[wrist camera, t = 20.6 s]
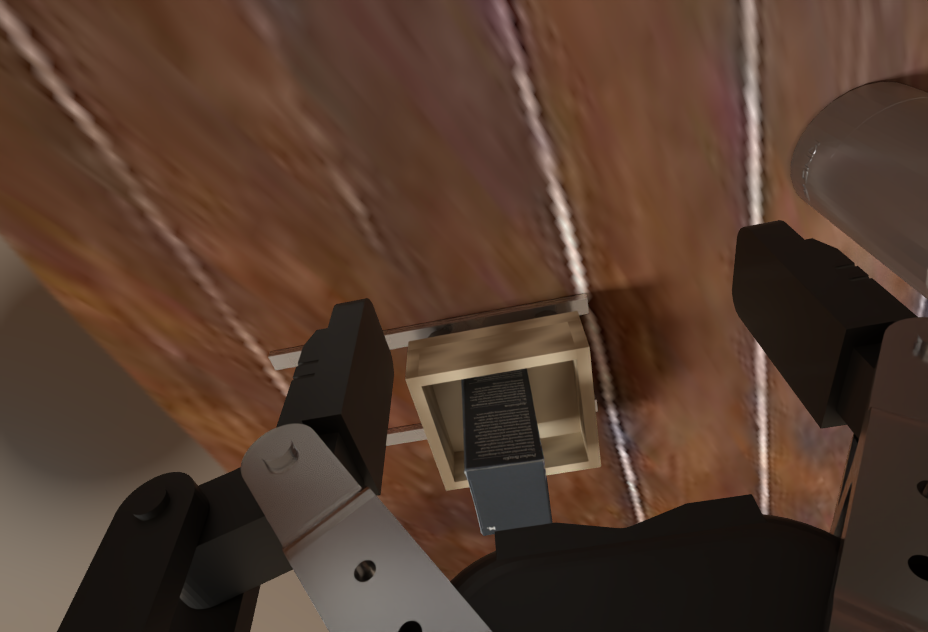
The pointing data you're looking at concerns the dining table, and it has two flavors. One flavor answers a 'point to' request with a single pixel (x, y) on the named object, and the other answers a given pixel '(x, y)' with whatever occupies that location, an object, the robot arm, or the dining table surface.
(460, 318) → the rails
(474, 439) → the box
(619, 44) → the dining table surface
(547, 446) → the light wooden open box
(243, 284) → the dining table surface
